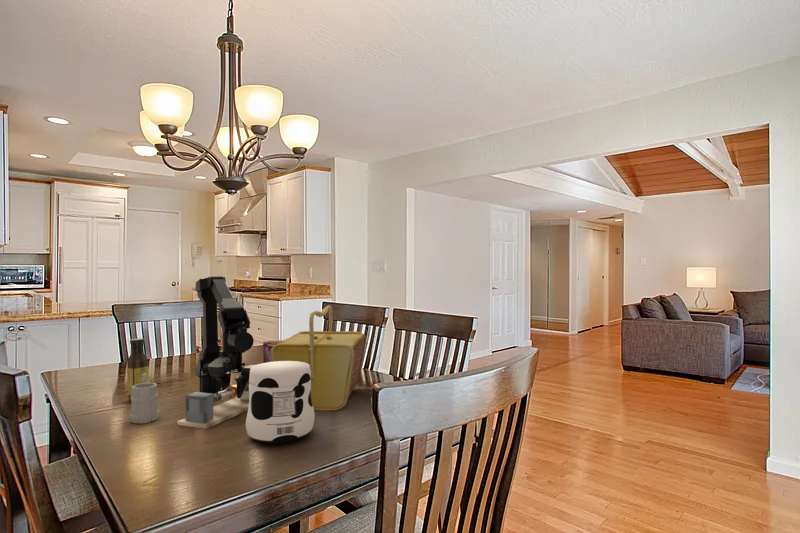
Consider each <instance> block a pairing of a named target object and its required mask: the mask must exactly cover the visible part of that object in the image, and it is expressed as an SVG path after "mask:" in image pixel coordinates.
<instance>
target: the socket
mask: <svg viewBox="0 0 800 533" xmlns="http://www.w3.org/2000/svg"><path fill="white" fill-rule="evenodd" d="M213 407H214V402H213V394H212V393H202V392H198V391H195V392H191V393H189V394H186V395H185V418H186V421H189V422H197V423H205V422H207V421H210V420H212V419H213Z"/></svg>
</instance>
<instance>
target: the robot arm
mask: <svg viewBox="0 0 800 533" xmlns="http://www.w3.org/2000/svg"><path fill="white" fill-rule="evenodd" d="M195 291H196V292H197V297H198V299H199V301H200V303H202V317H203V318H202V320H203V322H202V323H203V324H202V325H203V347H202V349H201V350H200V352H199V354H198V360H197V361H196V362H197V363H196V365H195V368H194V372H195V376H196V377H198V378H199V390H198V391H197V392H202V393H212V394H215V393H218V392H221V391H223V390H225V389H226V388H227V387H229V386H231V381H232V380H231V379H232V374H233V373H234V374H238V376H236V377H234V378H233V379H234V380H235V382H236V385H237V396H236V397H237V398H238V399H239V398H241V396H242V394H243V391H244V389H245V387H246V385H247V383H248V381H249V376H250V368H251V367H253V366H254V365H255V364H249V365H247V366H246V362H245V361H243V354H244V353H246V352H248V351H249V350H250V349H252V347H253V345H254V341H255V340H254V337H253V335H252V334H251V333H250V332H248V329H250V328H251V321H250V318H249V315H248V312H247V310H246V309H245V307H244V306H243V304H242V303H241V302H240V301H237V300H235V299H234V296H233V294H232V292H231V291H230V289H229V286H228V285H227V280H226V277H225V276H223V275H210V276H208V277H203V278H199V279H197V281H196V282H195ZM218 307H219V309H218ZM218 322H219V324H218ZM218 325H220V328H221V331H222V349H221V347H220V345H219V330H218V329H219V326H218Z"/></svg>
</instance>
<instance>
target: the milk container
mask: <svg viewBox="0 0 800 533" xmlns="http://www.w3.org/2000/svg"><path fill="white" fill-rule="evenodd" d="M253 365H254V366H253V367H251V368H250V376H249V405H248V409H247V411H246V413H245V419H244V420H245V422H244V423H245V428H246V433H247V435H248V437H249V438H251V439H252V440H253V441H256V442H259V443H264V444H283V443H288V442H290V443H291V442H294V441H297V440H300V439H302V438H303V437H306V436H307V435H309V434H310V433H311V432H312V430H313V428H314V423H315V410H314V408H313V405H312V401H311V370H310V365H309V364H307V363H305V362H299V361H275V362H267V363H263V362H262V363H258V364H253Z"/></svg>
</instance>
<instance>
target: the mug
mask: <svg viewBox="0 0 800 533" xmlns="http://www.w3.org/2000/svg"><path fill="white" fill-rule="evenodd" d="M130 402H131V406H130V407H131V410H130V413H129V418H130V422H131V423H132V422H133V424H138V423H139V424H147V422H148V423H152V422H154V421H157V420H158V419H159V415H160V414H161V413H160V412H161V410H160V409H159V392H158V384H157V383H156V382H149V383H147V378H146V374H142V383H141V384H137V385H134V386H132V396H131V401H130ZM151 421H152V422H151Z"/></svg>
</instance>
